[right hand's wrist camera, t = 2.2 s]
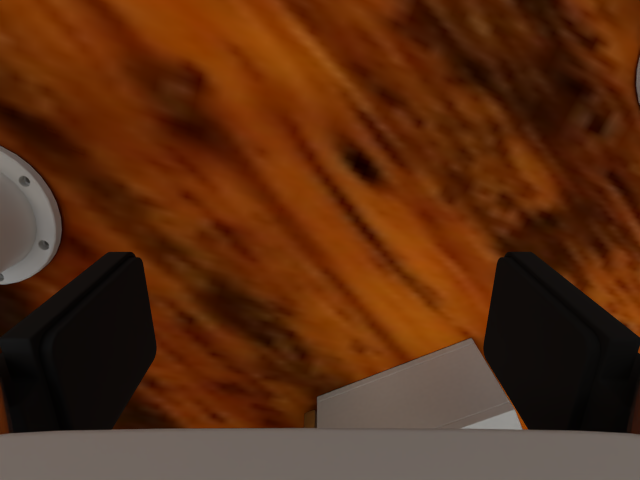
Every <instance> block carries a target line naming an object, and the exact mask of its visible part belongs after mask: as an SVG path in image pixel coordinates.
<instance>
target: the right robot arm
mask: <svg viewBox="0 0 640 480" xmlns="http://www.w3.org/2000/svg"><path fill="white" fill-rule="evenodd" d="M636 88H637V95H638V101H639V104H640V57H639V62H638V67H637V77H636ZM0 346H1V349H2V353H1V354H0V480H640V354H639V353H638V349H639V346H640V337H638V336H637V335H636V334H635V333H633V332H632V331H631V330H630V329H628V328H627V327H626V326H625V325H623V324H622V323H621V322H619V321H618V320H617V319H616V318H614V317H613V316H612V315H611V314H609V313H608V312H607V311H606V310H604V309H603V308H602V307H600V306H599V305H598V304H597V303H595V302H594V301H593V300H592V299H590V298H589V297H588V296H587V295H585V294H584V293H583V292H582V291H580V290H579V289H578V288H576V287H575V286H574V285H573V284H571V283H570V282H569V281H568V280H566V279H565V278H564V277H563V276H561V275H560V274H559V273H558V272H556V271H555V270H554V269H552V268H551V267H550V266H549V265H547V264H546V263H545V262H544V261H542V260H541V259H540V258H539V257H537V256H536V255H535V254H533V253H532V252H508V253H507V254H506V255H505V257H501V258H499V260H498V262H497V267H496V273H495V279H494V285H493V291H492V297H491V303H490V309H489V315H488V321H487V328H486V334H485V340H484V355H485V358H486V360H487V362H488V363H489V365H490V367H491V368H492V370H493V372H494V373H495V375H496V377H497V378H498V380H499V382H500V383H501V385H502V387H503V388H504V390H505V392H506V393H507V395H508V396H509V398H510V400H511V401H512V403H513V405H514V406H515V408H516V410H517V411H518V413H519V415H520V416H521V418H522V420H523V421H524V423H525V425H526V426H527V428H528V430H515V429H436V428H204V429H125V430H112V428H113V426H114V425H115V423H116V421H117V420H118V418H119V416H120V415H121V413H122V411H123V410H124V408H125V406H126V405H127V403H128V401H129V400H130V398H131V396H132V395H133V393H134V392H135V390H136V388H137V387H138V385H139V383H140V382H141V380H142V378H143V377H144V375H145V373H146V372H147V370H148V368H149V367H150V365H151V363H152V362H153V360H154V358H155V355H156V340H155V334H154V328H153V321H152V315H151V309H150V303H149V297H148V291H147V285H146V279H145V273H144V267H143V262H142V260H141V258H139V257H135V255H134V254H133V253H132V252H108V253H107V254H105V255H104V256H103V257H101V258H100V259H99V260H98V261H96V262H95V263H94V264H93V265H91V266H90V267H89V268H88V269H86V270H85V271H84V272H82V273H81V274H80V275H79V276H77V277H76V278H75V279H74V280H72V281H71V282H70V283H69V284H67V285H66V286H65V287H64V288H62V289H61V290H60V291H58V292H57V293H56V294H55V295H53V296H52V297H51V298H50V299H48V300H47V301H46V302H45V303H43V304H42V305H41V306H40V307H38V308H37V309H36V310H34V311H33V312H32V313H31V314H29V315H28V316H27V317H26V318H24V319H23V320H22V321H21V322H19V323H18V324H17V325H15V326H14V327H13V328H12V329H10V330H9V331H8V332H7V333H5V334H4V335H3V336H2V337H0Z"/></svg>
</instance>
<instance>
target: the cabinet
mask: <svg viewBox="0 0 640 480" xmlns="http://www.w3.org/2000/svg"><path fill="white" fill-rule="evenodd" d="M317 428H436V429H515V430H523V429H522V427H521V424H520V422H519V419H518V417H517V414H516V411H515V409H514V407H513V406H512V404H511V403H510V401H509V399H508V398H507V396H506V394H505V393H504V391H503V389H502V388H501V386H500V384H499V383H498V381H497V379H496V378H495V376H494V374H493V373H492V371H491V369H490V368H489V366H488V364H487V363H486V361H485V359H484V358H483V356H482V354H481V353H480V351H479V349H478V348H477V346H476V344H475V343H474V341H473V339H472V338H470V339H467V340H465V341H462V342H460V343H457V344H454V345H452V346H449V347H446V348H444V349H441V350H439V351H436V352H433V353H431V354H428V355H426V356H423V357H420V358H418V359H415V360H412V361H410V362H407V363H405V364H402V365H399V366H397V367H394V368H392V369H389V370H386V371H384V372H381V373H378V374H376V375H373V376H371V377H368V378H365V379H363V380H360V381H358V382H355V383H352V384H350V385H347V386H344V387H342V388H339V389H337V390H334V391H331V392H329V393H326V394H324V395H321V396H318V397H317Z"/></svg>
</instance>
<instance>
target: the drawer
mask: <svg viewBox="0 0 640 480" xmlns="http://www.w3.org/2000/svg"><path fill="white" fill-rule="evenodd" d="M304 428H317V412H316V411H315V410H312V411H310V412H307V413H305V414H304Z"/></svg>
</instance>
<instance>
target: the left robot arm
mask: <svg viewBox="0 0 640 480" xmlns="http://www.w3.org/2000/svg"><path fill="white" fill-rule="evenodd" d="M61 233H62V226H61V216H60V212H59V209H58V205H57V202H56V200H55V198H54V196H53V194H52V192H51V190H50V189H49V187H48V186H47V184H46V183H45V181H44V180H43V179H42V177H41V176H40V175H39V174H38V173H37V172H36V171H35V170H34V169H33V168H32V167H31V166H30V165H29V164H28V163H27V162H25V161H24V160H23V159H21V158H20V157H19V156H18V155H16V154H14V153H12V152H11V151H9V150H7V149H5V148H3V147H2V146H0V284H10V283H16V282H20V281H22V280H25V279H27V278H30V277H31V276H33V275H34V274H36V273H38V272H39V271H41V270H42V269H43V268H44V267H45V266H46V265H48V264H49V263H50V261H51V260H52V258H53V257H54V256H55V254H56V252H57V249H58V247H59V244H60V240H61Z"/></svg>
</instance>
